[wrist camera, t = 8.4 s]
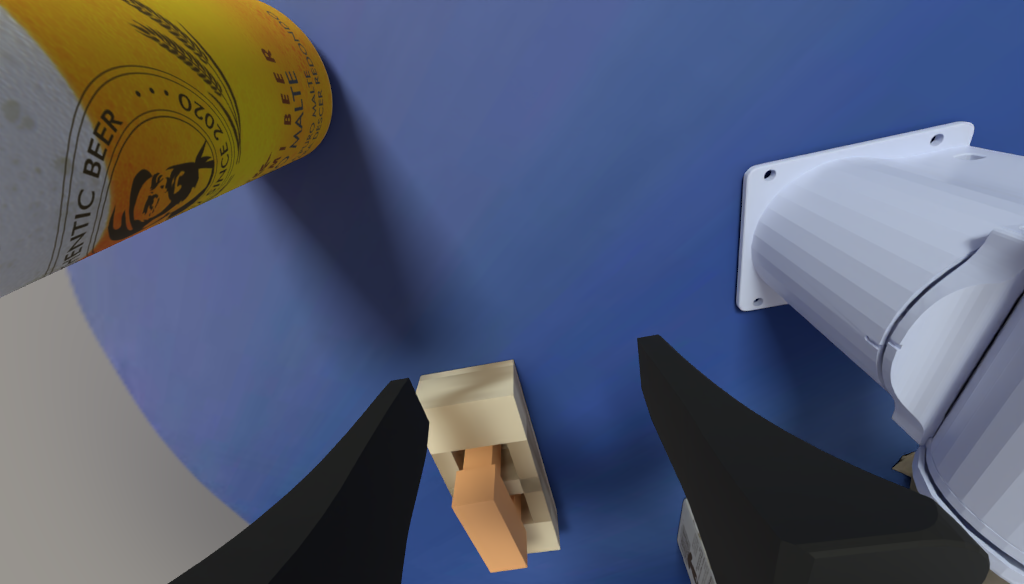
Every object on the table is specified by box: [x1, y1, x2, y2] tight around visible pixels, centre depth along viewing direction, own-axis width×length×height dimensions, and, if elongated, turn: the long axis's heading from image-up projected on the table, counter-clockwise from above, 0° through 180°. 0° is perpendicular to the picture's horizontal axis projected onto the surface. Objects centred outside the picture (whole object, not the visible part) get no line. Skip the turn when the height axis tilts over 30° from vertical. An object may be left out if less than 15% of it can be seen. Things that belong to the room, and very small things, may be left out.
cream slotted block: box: [416, 360, 560, 553], centre depth 28 cm, size 6×16×3 cm, turn 13°
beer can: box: [0, 0, 333, 297], centre depth 11 cm, size 6×6×15 cm
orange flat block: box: [452, 444, 527, 572], centre depth 26 cm, size 2×7×6 cm, turn 16°
